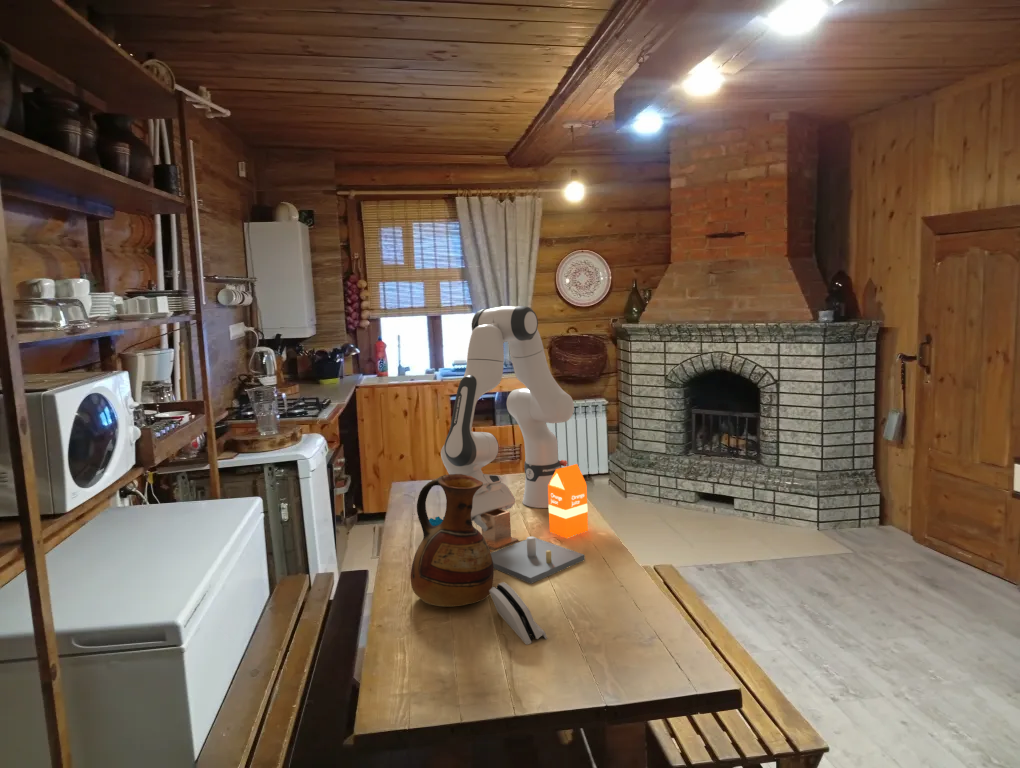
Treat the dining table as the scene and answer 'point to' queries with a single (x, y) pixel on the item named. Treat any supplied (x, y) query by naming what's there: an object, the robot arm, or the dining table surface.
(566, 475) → the orange juice
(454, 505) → the ceramic pitcher
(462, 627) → the dining table surface
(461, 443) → the robot arm
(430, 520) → the gear
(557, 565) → the base plate
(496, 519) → the copper sleeve
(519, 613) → the half-moon napkin holder
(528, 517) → the dining table surface
